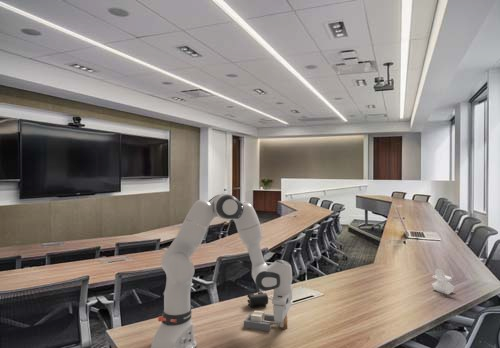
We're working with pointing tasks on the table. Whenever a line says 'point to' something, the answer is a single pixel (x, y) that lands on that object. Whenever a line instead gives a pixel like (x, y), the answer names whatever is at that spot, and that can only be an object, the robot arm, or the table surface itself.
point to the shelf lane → (259, 325)
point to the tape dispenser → (442, 282)
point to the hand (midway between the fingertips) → (283, 323)
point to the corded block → (259, 317)
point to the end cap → (257, 299)
